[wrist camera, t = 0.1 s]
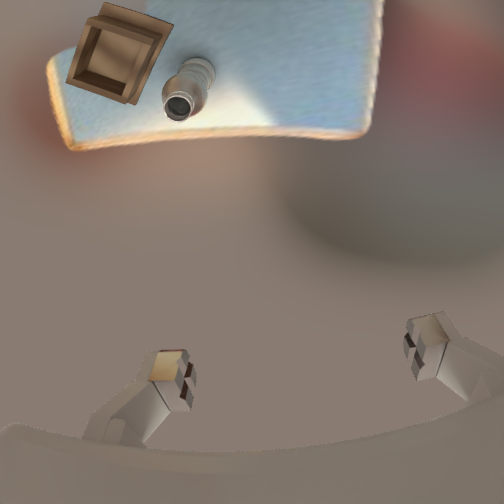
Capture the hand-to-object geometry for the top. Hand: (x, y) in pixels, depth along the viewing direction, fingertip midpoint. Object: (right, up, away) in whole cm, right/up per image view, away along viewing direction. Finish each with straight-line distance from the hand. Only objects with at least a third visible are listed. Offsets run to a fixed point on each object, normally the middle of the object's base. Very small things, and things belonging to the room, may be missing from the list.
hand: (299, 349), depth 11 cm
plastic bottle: (-11, +35, +38) cm, 53 cm away
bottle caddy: (-25, +39, +34) cm, 57 cm away
